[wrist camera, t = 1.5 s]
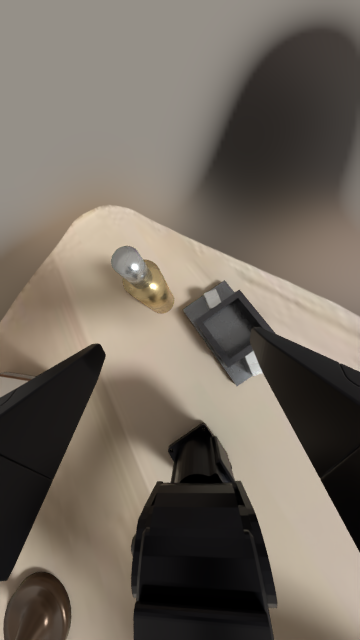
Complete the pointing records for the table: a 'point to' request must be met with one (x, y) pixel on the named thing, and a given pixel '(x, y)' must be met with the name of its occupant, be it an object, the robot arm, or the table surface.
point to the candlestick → (38, 610)
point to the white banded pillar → (12, 381)
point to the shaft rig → (228, 329)
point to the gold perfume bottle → (142, 279)
